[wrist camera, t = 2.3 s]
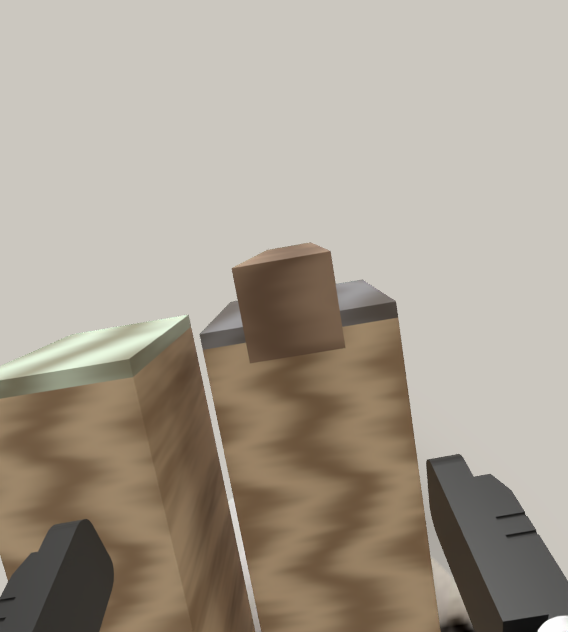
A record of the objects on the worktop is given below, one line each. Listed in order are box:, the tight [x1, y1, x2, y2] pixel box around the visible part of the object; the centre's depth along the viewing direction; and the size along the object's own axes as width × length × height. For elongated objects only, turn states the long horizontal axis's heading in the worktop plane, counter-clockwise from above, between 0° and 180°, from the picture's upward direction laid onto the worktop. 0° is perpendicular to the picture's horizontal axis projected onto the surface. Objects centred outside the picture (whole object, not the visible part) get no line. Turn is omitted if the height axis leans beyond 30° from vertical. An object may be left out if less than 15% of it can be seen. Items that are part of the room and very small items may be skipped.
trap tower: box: [200, 280, 440, 632], centre depth 38 cm, size 12×14×32 cm
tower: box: [0, 315, 255, 632], centre depth 34 cm, size 10×14×32 cm
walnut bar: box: [232, 243, 345, 363], centre depth 31 cm, size 4×24×4 cm, turn 179°
